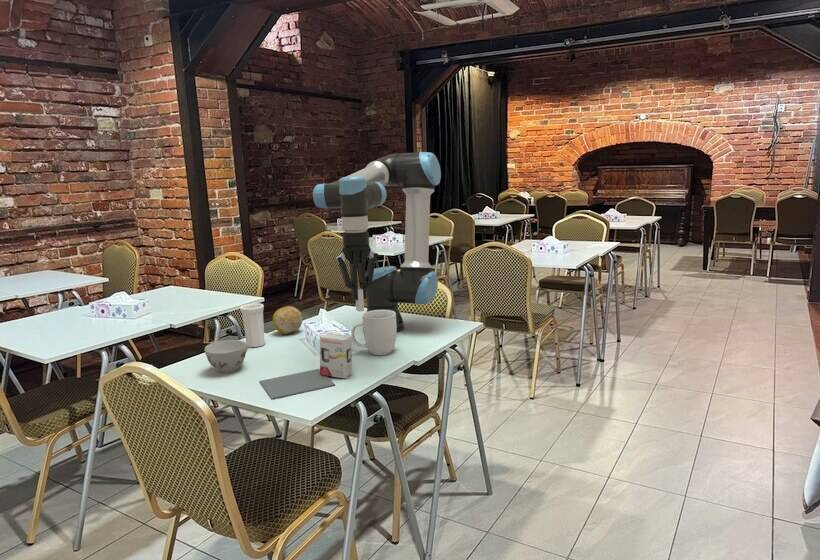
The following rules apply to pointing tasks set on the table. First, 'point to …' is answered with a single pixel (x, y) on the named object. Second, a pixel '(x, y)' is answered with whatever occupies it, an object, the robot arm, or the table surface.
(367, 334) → the mug
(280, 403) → the table surface
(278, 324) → the fruit
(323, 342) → the ink box
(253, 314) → the cup
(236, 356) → the teacup
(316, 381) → the mat
